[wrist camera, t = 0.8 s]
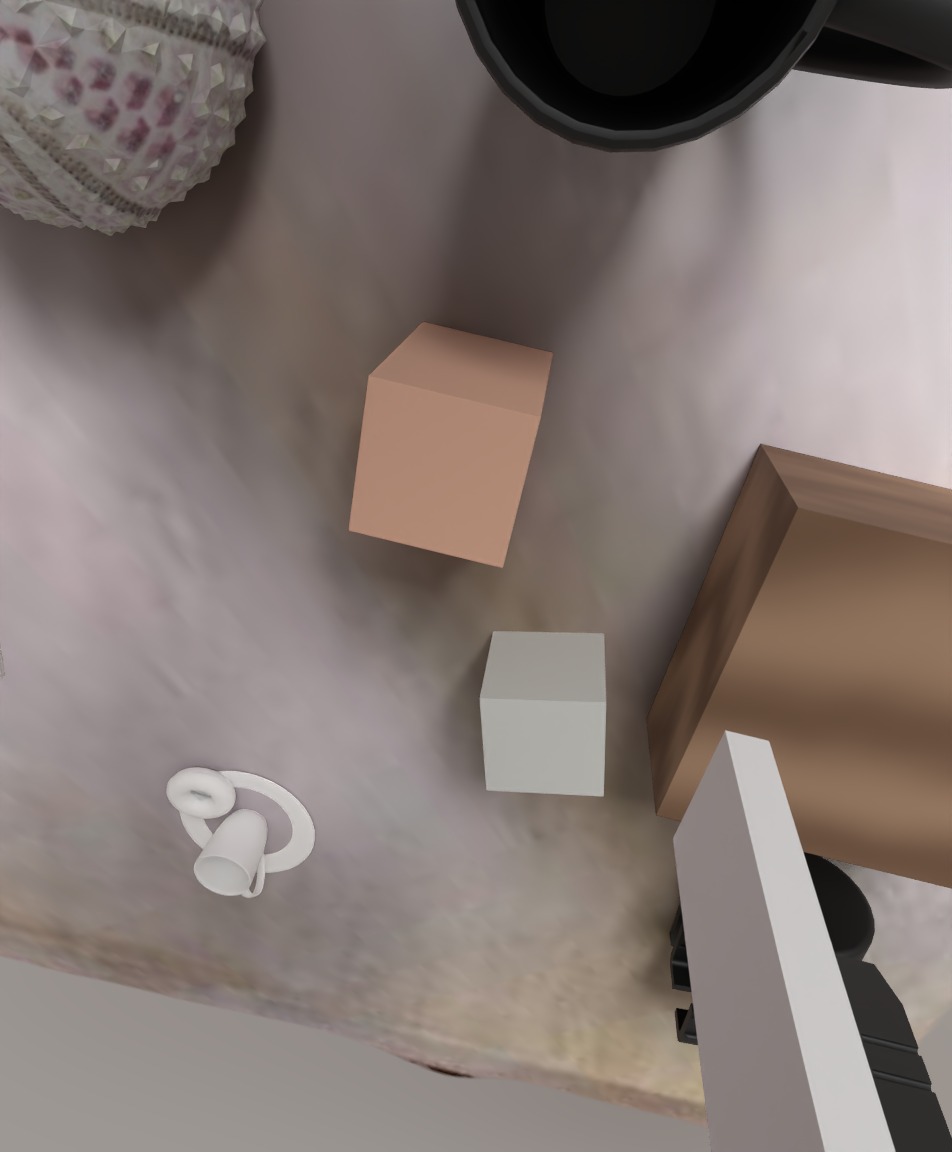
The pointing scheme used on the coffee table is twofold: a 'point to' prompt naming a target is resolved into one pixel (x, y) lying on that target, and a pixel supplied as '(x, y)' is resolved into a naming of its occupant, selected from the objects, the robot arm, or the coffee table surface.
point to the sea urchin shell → (118, 104)
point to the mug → (692, 58)
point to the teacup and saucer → (236, 829)
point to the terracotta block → (448, 442)
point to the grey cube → (544, 713)
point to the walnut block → (825, 661)
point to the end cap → (841, 914)
